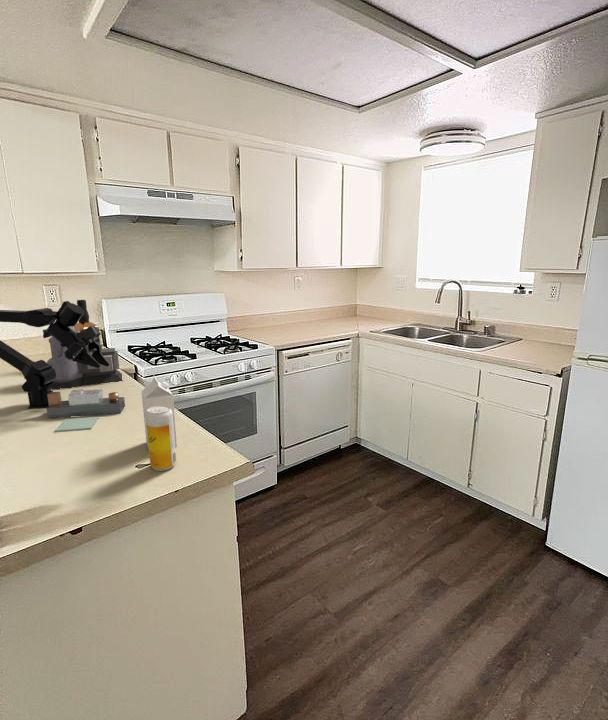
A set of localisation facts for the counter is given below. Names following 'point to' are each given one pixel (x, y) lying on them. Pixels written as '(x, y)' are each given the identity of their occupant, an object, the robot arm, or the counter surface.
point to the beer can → (161, 437)
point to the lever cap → (85, 397)
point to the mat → (77, 424)
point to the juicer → (81, 368)
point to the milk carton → (157, 400)
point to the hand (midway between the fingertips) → (104, 366)
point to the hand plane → (84, 406)
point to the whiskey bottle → (85, 321)
